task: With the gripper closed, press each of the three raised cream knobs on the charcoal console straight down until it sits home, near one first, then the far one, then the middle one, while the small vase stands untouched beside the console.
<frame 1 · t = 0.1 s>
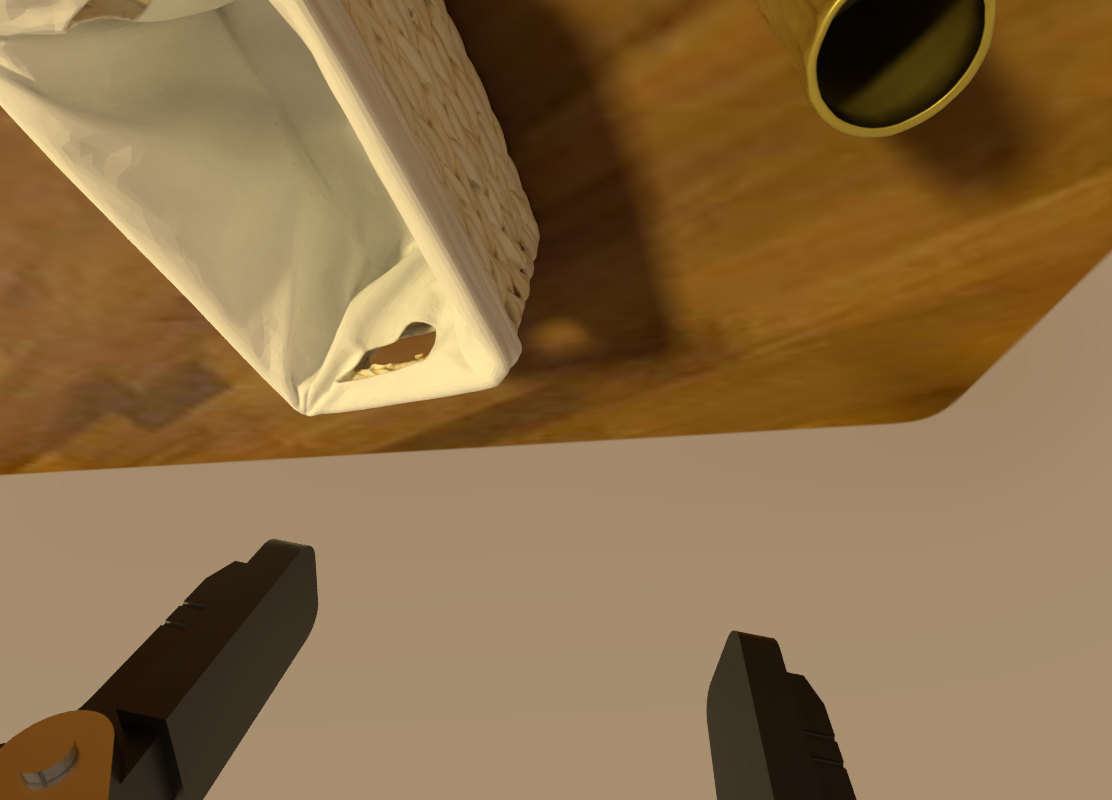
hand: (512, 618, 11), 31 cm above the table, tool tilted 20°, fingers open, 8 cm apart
storage basket: (384, 118, 36), on the table
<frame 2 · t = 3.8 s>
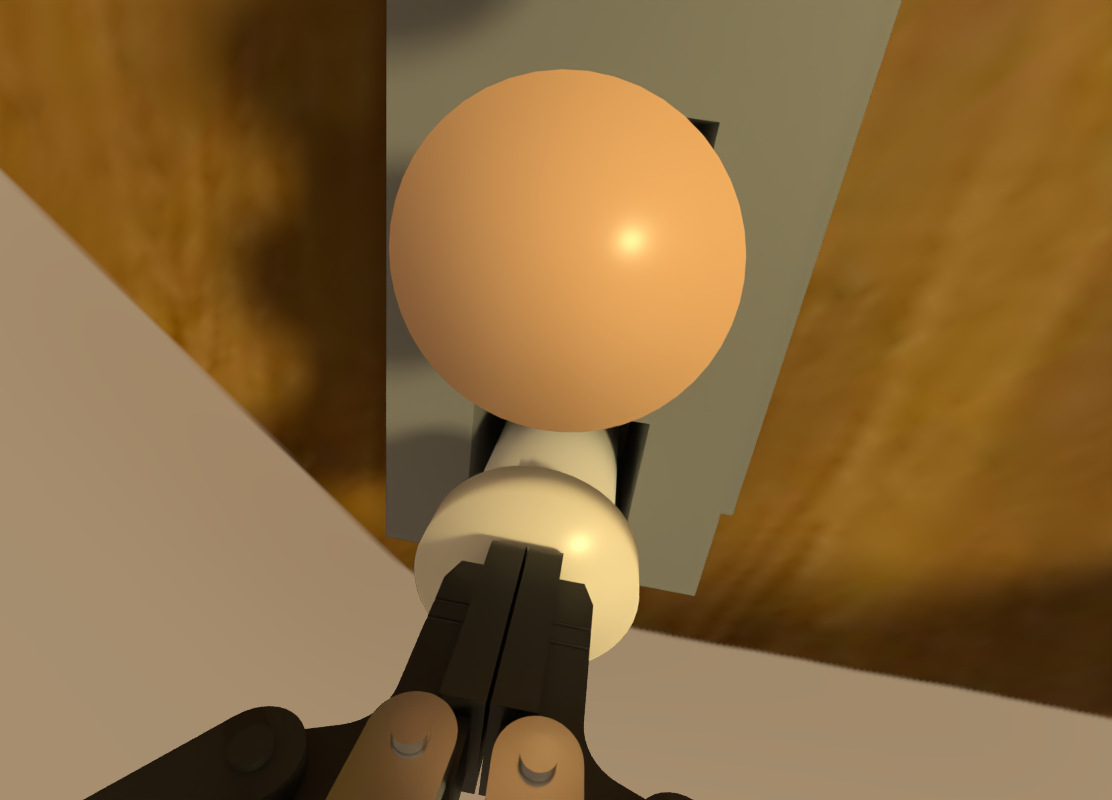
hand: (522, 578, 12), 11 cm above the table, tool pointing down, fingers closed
knob mid: (584, 231, 11), point 8 cm above the table, slide at 0.0 cm
console: (605, 194, 19), on the table
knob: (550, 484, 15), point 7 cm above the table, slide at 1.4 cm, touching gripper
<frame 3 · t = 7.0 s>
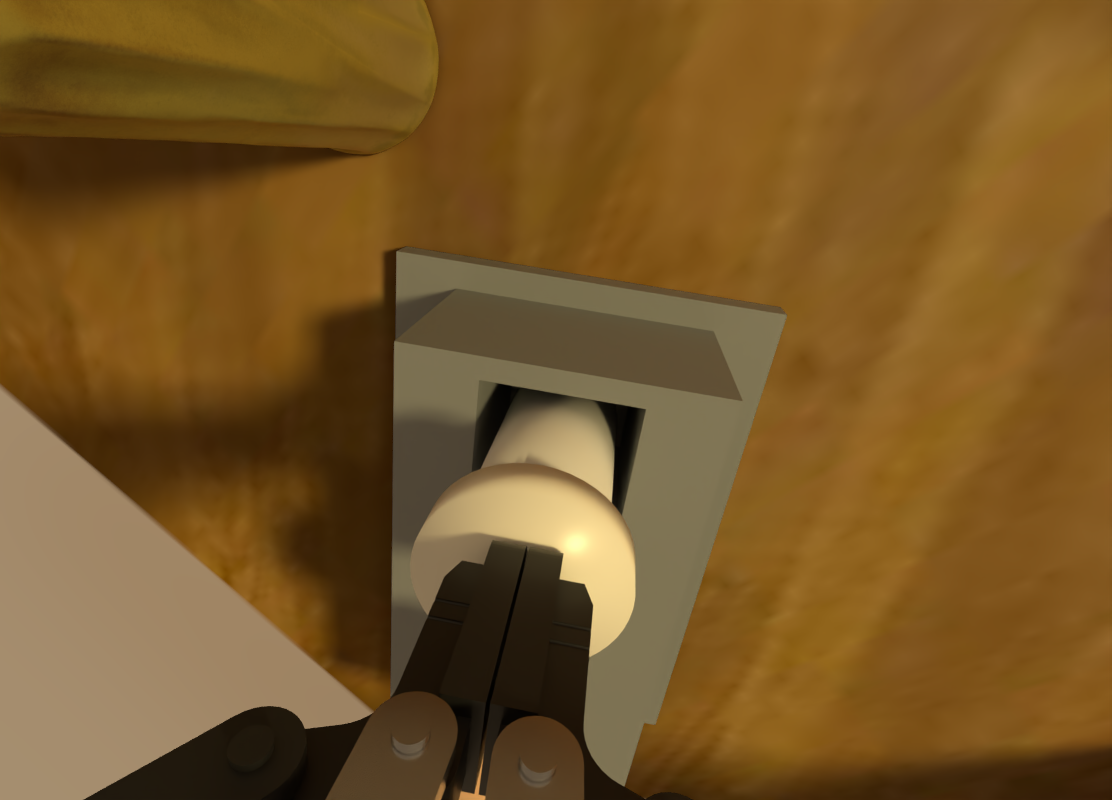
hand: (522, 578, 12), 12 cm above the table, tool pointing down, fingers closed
knob mid: (516, 676, 18), point 8 cm above the table, slide at 0.0 cm
console: (551, 515, 26), on the table
vase: (354, 55, 19), on the table
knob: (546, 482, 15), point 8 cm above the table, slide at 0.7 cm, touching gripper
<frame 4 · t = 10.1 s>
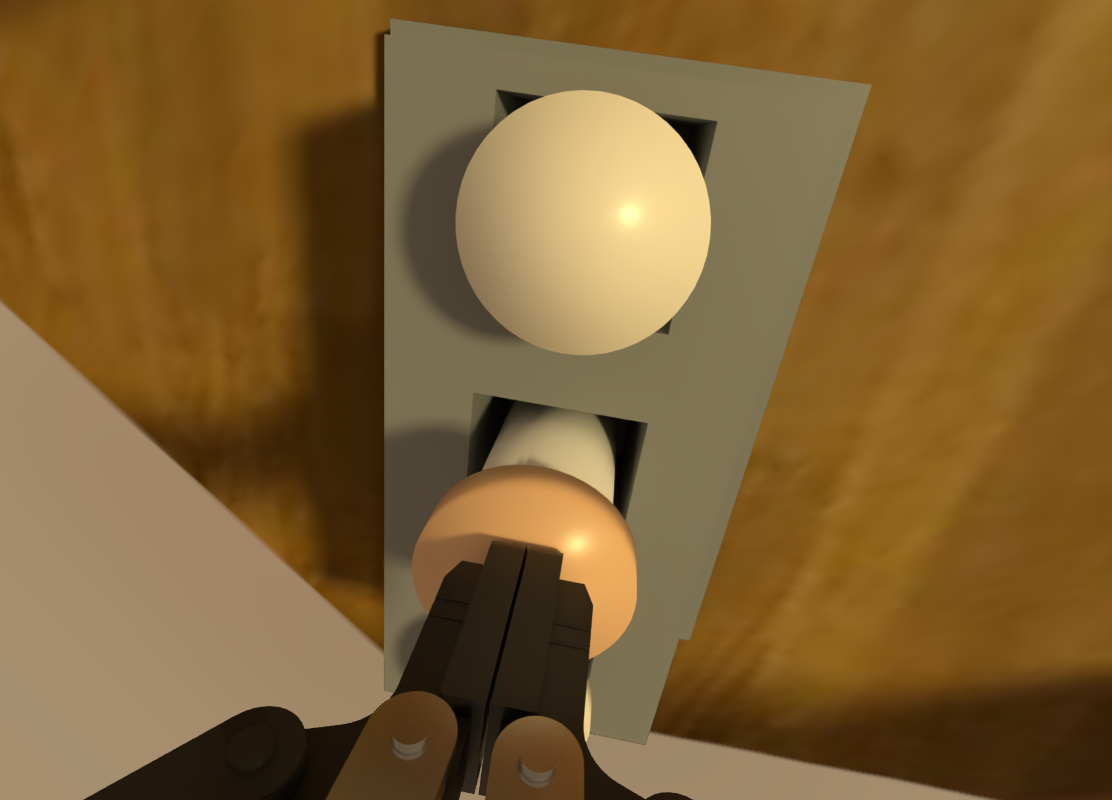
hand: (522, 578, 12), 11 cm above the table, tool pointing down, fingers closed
knob mid: (548, 483, 15), point 7 cm above the table, slide at 1.4 cm, touching gripper
console: (573, 383, 22), on the table
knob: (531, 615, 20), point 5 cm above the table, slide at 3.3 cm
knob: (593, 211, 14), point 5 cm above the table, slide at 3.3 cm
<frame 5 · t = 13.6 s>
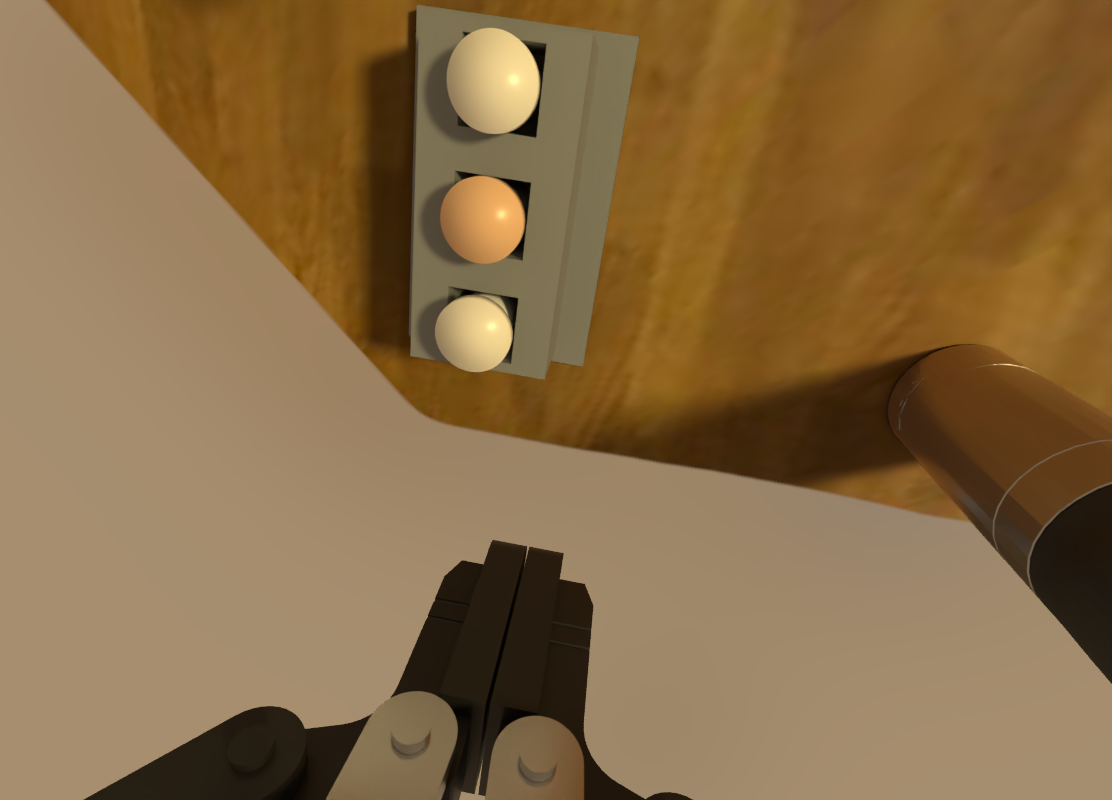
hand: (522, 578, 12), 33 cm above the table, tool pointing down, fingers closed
knob mid: (496, 213, 36), point 5 cm above the table, slide at 3.3 cm
console: (511, 204, 40), on the table
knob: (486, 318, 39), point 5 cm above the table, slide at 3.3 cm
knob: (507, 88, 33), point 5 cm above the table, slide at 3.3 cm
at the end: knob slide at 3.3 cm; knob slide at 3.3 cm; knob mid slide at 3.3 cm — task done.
